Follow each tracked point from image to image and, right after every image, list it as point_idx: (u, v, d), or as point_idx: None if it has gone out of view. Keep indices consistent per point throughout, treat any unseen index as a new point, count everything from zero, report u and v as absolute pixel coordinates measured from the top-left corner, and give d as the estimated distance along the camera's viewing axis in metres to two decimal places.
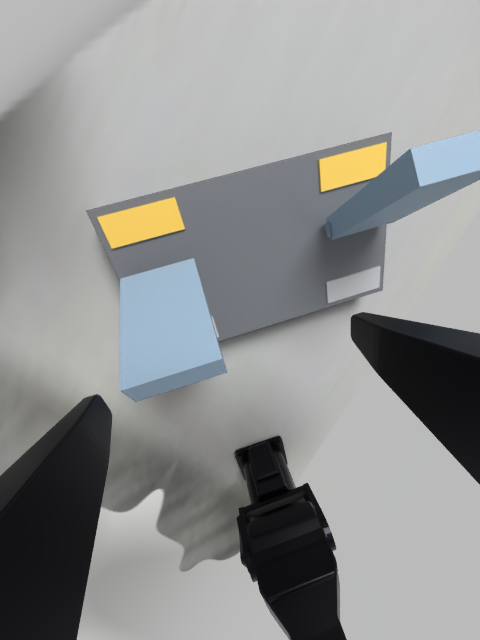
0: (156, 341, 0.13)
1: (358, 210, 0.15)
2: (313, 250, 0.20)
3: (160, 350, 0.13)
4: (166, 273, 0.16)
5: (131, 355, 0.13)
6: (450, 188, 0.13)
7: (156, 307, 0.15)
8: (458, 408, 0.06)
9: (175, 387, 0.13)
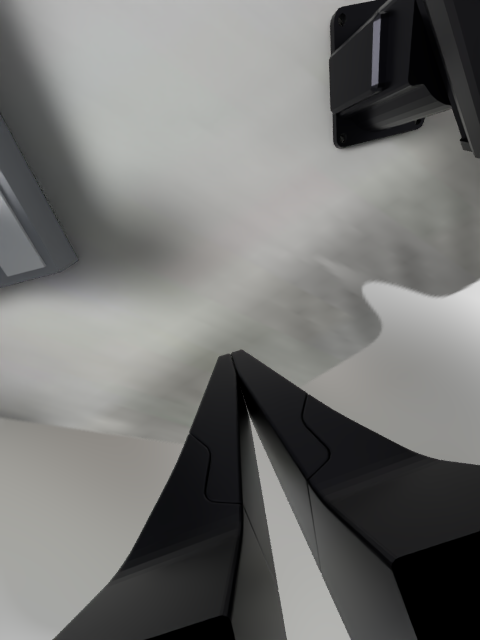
0: None
1: None
2: None
3: None
4: None
5: None
6: None
7: None
8: (282, 471, 0.06)
9: None
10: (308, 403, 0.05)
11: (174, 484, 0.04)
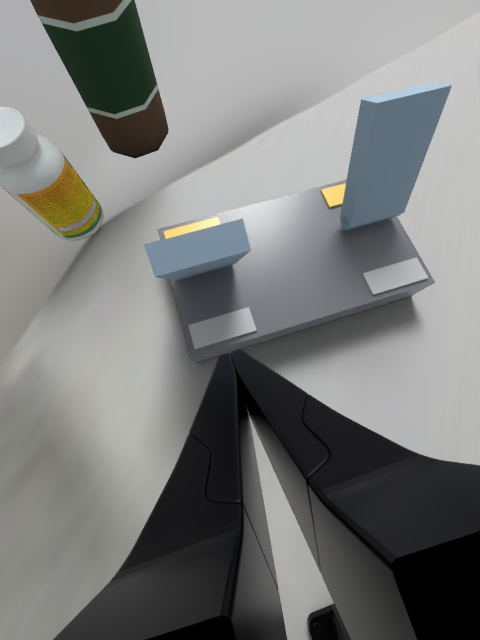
0: None
1: (355, 176, 0.18)
2: (338, 247, 0.22)
3: None
4: None
5: None
6: (416, 130, 0.17)
7: None
8: (282, 471, 0.06)
9: (197, 265, 0.13)
10: (308, 403, 0.05)
11: (174, 484, 0.04)
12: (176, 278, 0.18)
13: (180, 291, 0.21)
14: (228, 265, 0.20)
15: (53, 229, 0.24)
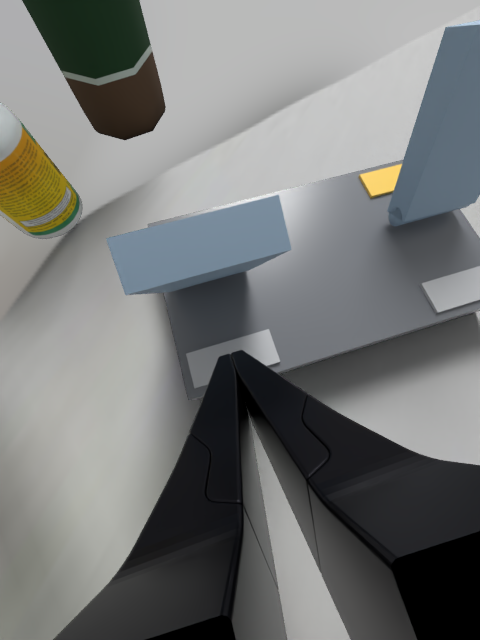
0: None
1: (420, 148, 0.13)
2: (385, 249, 0.17)
3: None
4: None
5: None
6: None
7: None
8: (282, 471, 0.06)
9: (199, 275, 0.07)
10: (308, 403, 0.05)
11: (174, 484, 0.04)
12: (169, 290, 0.13)
13: (175, 306, 0.15)
14: None
15: (15, 224, 0.19)
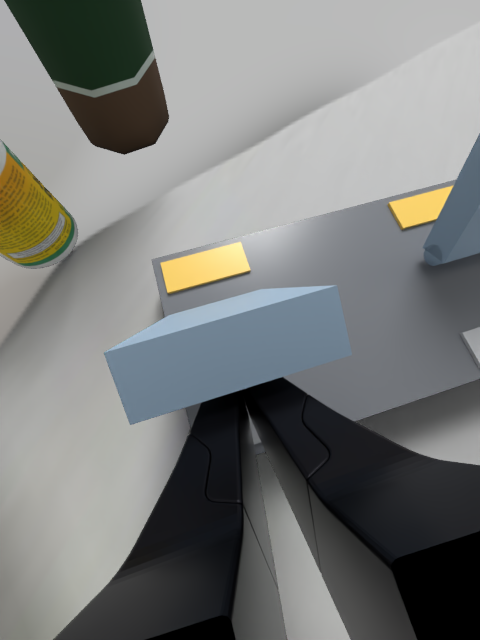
0: (201, 315, 0.07)
1: (473, 186, 0.11)
2: (420, 290, 0.15)
3: (206, 316, 0.07)
4: (226, 299, 0.12)
5: (153, 330, 0.07)
6: None
7: (209, 308, 0.10)
8: (282, 471, 0.06)
9: (229, 392, 0.05)
10: (308, 403, 0.05)
11: (174, 484, 0.04)
12: None
13: None
14: None
15: (2, 255, 0.17)
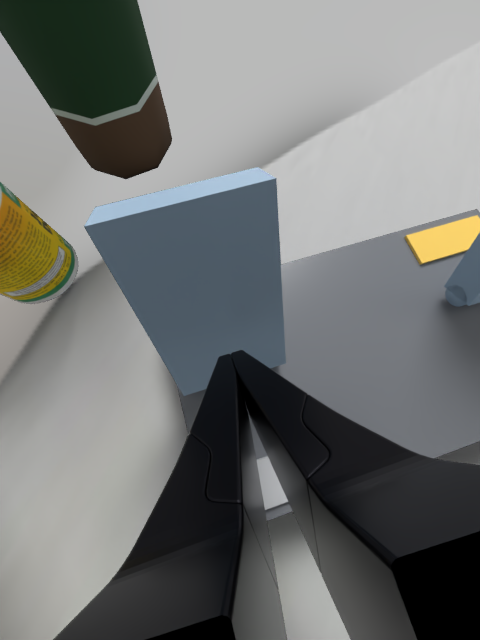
0: None
1: None
2: (442, 331, 0.14)
3: None
4: None
5: None
6: None
7: None
8: (282, 471, 0.06)
9: (170, 207, 0.06)
10: (308, 403, 0.05)
11: (174, 484, 0.04)
12: (175, 363, 0.10)
13: (194, 410, 0.13)
14: (273, 362, 0.12)
15: None
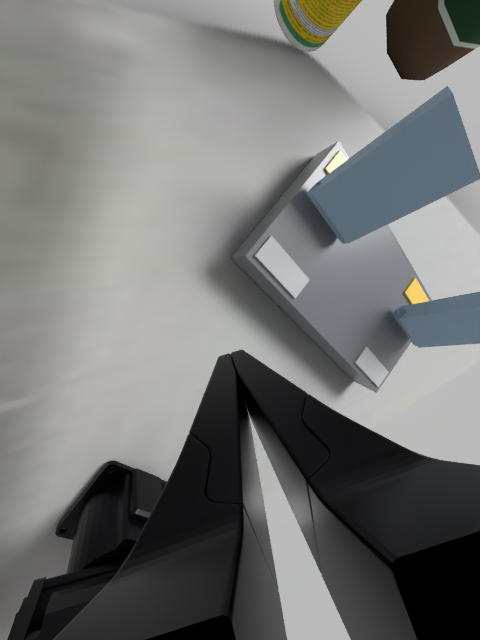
0: None
1: (447, 305, 0.22)
2: (377, 317, 0.25)
3: None
4: None
5: None
6: None
7: None
8: (282, 471, 0.06)
9: (464, 133, 0.13)
10: (308, 403, 0.05)
11: (174, 484, 0.04)
12: (344, 176, 0.17)
13: (294, 206, 0.19)
14: (348, 236, 0.20)
15: None
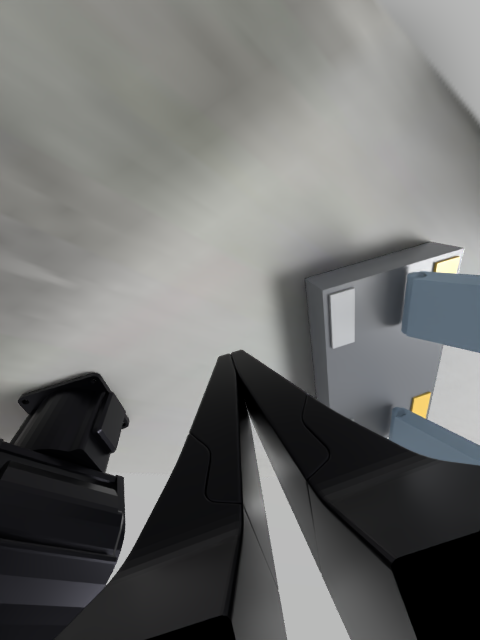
0: None
1: (442, 435, 0.23)
2: (378, 403, 0.26)
3: None
4: None
5: None
6: None
7: None
8: (282, 471, 0.06)
9: None
10: (308, 403, 0.05)
11: (174, 484, 0.04)
12: (452, 287, 0.17)
13: (389, 277, 0.19)
14: (412, 331, 0.20)
15: None
